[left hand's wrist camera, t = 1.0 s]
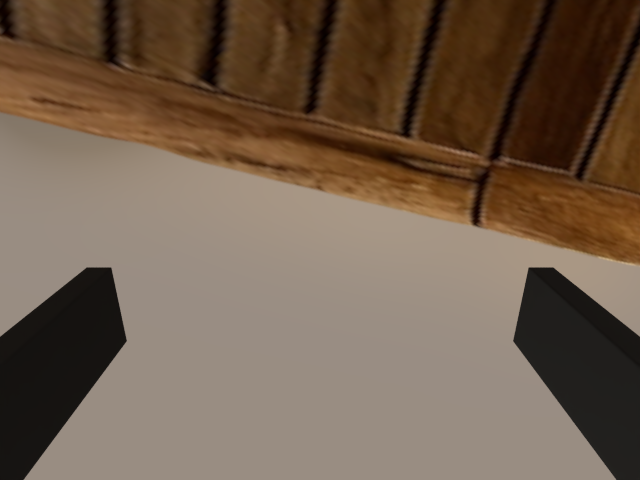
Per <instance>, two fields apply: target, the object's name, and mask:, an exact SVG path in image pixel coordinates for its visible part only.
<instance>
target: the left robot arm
mask: <svg viewBox="0 0 640 480" xmlns="http://www.w3.org/2000/svg"><path fill="white" fill-rule="evenodd" d="M126 341H127V340H126V336H125V331H124V326H123V321H122V316H121V312H120V307H119V302H118V297H117V293H116V288H115V283H114V278H113V274H112V269H111V268H86V269H85V270H83V271H82V272H81V273H79V274H78V275H77V276H76V277H74V278H73V279H72V280H71V281H69V282H68V283H67V284H66V285H64V286H63V287H62V288H61V289H59V290H58V291H57V292H56V293H54V294H53V295H52V296H51V297H49V298H48V299H47V300H46V301H44V302H43V303H42V304H41V305H39V306H38V307H37V308H36V309H34V310H33V311H32V312H31V313H29V314H28V315H27V316H26V317H24V318H23V319H22V320H21V321H19V322H18V323H17V324H16V325H14V326H13V327H12V328H11V329H9V330H8V331H7V332H6V333H4V334H3V335H2V336H1V337H0V480H24V478H25V477H26V476H27V474H28V473H29V472H30V470H31V469H32V468H33V466H34V465H35V464H36V462H37V461H38V460H39V458H40V457H41V456H42V454H43V453H44V451H45V450H46V449H47V447H48V446H49V445H50V443H51V442H52V441H53V439H54V438H55V437H56V435H57V434H58V433H59V431H60V430H61V429H62V427H63V426H64V425H65V423H66V422H67V421H68V419H69V418H70V417H71V415H72V414H73V412H74V411H75V410H76V409H77V407H78V406H79V404H80V403H81V402H82V400H83V399H84V398H85V396H86V395H87V394H88V392H89V391H90V390H91V388H92V387H93V386H94V384H95V383H96V382H97V380H98V379H99V378H100V376H101V375H102V374H103V372H104V371H105V370H106V368H107V367H108V366H109V364H110V363H111V361H112V360H113V359H114V357H115V356H116V355H117V353H118V352H119V351H120V349H121V348H122V347H123V345H124V344H125V343H126ZM513 341H514V343H515V344H516V345H517V347H518V348H519V349H520V351H521V352H522V353H523V355H524V356H525V357H526V359H527V360H528V361H529V363H530V364H531V366H532V367H533V368H534V370H535V371H536V372H537V374H538V375H539V376H540V378H541V379H542V380H543V382H544V383H545V384H546V386H547V387H548V388H549V390H550V391H551V392H552V394H553V395H554V396H555V398H556V399H557V400H558V402H559V403H560V404H561V406H562V407H563V409H564V410H565V411H566V412H567V414H568V415H569V417H570V418H571V419H572V421H573V422H574V423H575V425H576V426H577V427H578V429H579V430H580V431H581V433H582V434H583V435H584V437H585V438H586V439H587V441H588V442H589V443H590V445H591V446H592V447H593V449H594V450H595V451H596V453H597V454H598V456H599V457H600V458H601V460H602V461H603V462H604V464H605V465H606V466H607V468H608V469H609V470H610V472H611V473H612V474H613V476H614V477H615V478H616V480H640V337H639V336H638V335H637V334H636V333H634V332H633V331H632V330H631V329H629V328H628V327H627V326H626V325H624V324H623V323H622V322H621V321H619V320H618V319H617V318H616V317H614V316H613V315H612V314H611V313H609V312H608V311H607V310H606V309H604V308H603V307H602V306H601V305H599V304H598V303H597V302H596V301H594V300H593V299H592V298H591V297H589V296H588V295H587V294H586V293H584V292H583V291H582V290H581V289H579V288H578V287H577V286H576V285H574V284H573V283H572V282H571V281H569V280H568V279H567V278H566V277H564V276H563V275H562V274H561V273H559V272H558V271H557V270H556V269H554V268H529V269H528V274H527V278H526V283H525V288H524V293H523V297H522V302H521V307H520V312H519V316H518V321H517V326H516V331H515V335H514V340H513Z"/></svg>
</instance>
